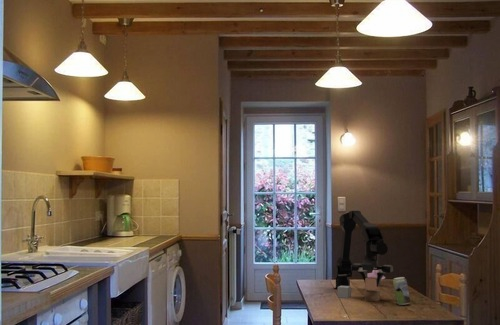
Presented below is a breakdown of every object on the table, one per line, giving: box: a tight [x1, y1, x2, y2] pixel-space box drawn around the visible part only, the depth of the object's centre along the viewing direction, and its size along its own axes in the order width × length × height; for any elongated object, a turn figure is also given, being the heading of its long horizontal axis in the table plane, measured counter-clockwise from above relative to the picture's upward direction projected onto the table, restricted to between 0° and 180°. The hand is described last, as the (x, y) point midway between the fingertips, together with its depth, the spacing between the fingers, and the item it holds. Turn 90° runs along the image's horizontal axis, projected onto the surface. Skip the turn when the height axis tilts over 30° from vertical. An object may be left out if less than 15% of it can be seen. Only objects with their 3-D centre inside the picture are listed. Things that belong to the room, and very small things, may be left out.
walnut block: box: [364, 289, 381, 302], centre depth 261 cm, size 6×6×4 cm
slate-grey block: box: [337, 285, 352, 299], centre depth 269 cm, size 5×5×5 cm
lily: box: [367, 270, 386, 280], centre depth 305 cm, size 12×12×10 cm
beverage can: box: [392, 276, 411, 306], centre depth 249 cm, size 6×7×12 cm
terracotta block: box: [364, 277, 380, 291], centre depth 262 cm, size 5×5×5 cm
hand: (372, 286), depth 262 cm, fingers closed on terracotta block, 5 cm apart
